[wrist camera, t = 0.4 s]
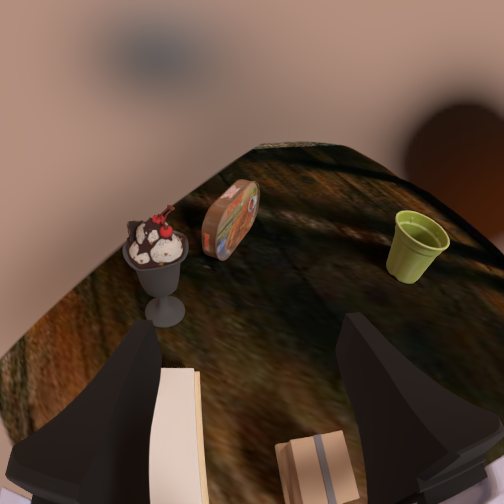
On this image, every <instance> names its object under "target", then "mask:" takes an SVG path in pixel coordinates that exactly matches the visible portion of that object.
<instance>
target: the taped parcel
mask: <svg viewBox="0 0 504 504" xmlns="http://www.w3.org/2000/svg"><path fill="white" fill-rule="evenodd" d="M275 451H276V456H277V462H278V467H279V473H280V478H281V484H282V489H283V495H284V500H285V504H342V503H345V502H348V501H352V500H355V499H358V498H359V494H358V490H357V486H356V482H355V478H354V474H353V470H352V466H351V462H350V458H349V455H348V451H347V447H346V443H345V439H344V436H343V432H342V430H341V431H337V432H332V433H327V434H322V435H321V434H319V435H314V436H312V437H306V438H300V439H294V440H290V441H289V442H287V443H280V444H276V445H275Z"/></svg>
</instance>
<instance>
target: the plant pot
mask: <svg viewBox="0 0 504 504" xmlns="http://www.w3.org/2000/svg"><path fill="white" fill-rule="evenodd" d="M395 221H396V227H395V230H396V232H395V235H394V239H393V243H392V246H391V249H390V253H389V256H388V259H387V262H386V267H387V270H388V272H389V273H390V274H391V275H393V276H395V277H396V278H397V279H398V281H400V282H403V283H408V284H411V283H414V282H416V281H417V280H418V279H419V278H420V276H421V275H422V274H423V273H424V271H425V270H426V269H427V268H428V266H429V265H430V264H431V263H432V261H433V260H434V259H435V258H436V256H437V255H439V254H440V253H441V252H442V251H443V250H445V249H447V248H448V246H449V244H450V242H449V238H448V236H447V234H446V232H445V231H444V230H443V229H442V227H440V226H439V225H438V224H437V223H436V222H434V221H433V220H432V219H430V218H428V217H427V216H424V215H422V214H420V213H417V212H414V211H401V212H399V213H398V214H397V215H396V218H395Z"/></svg>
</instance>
